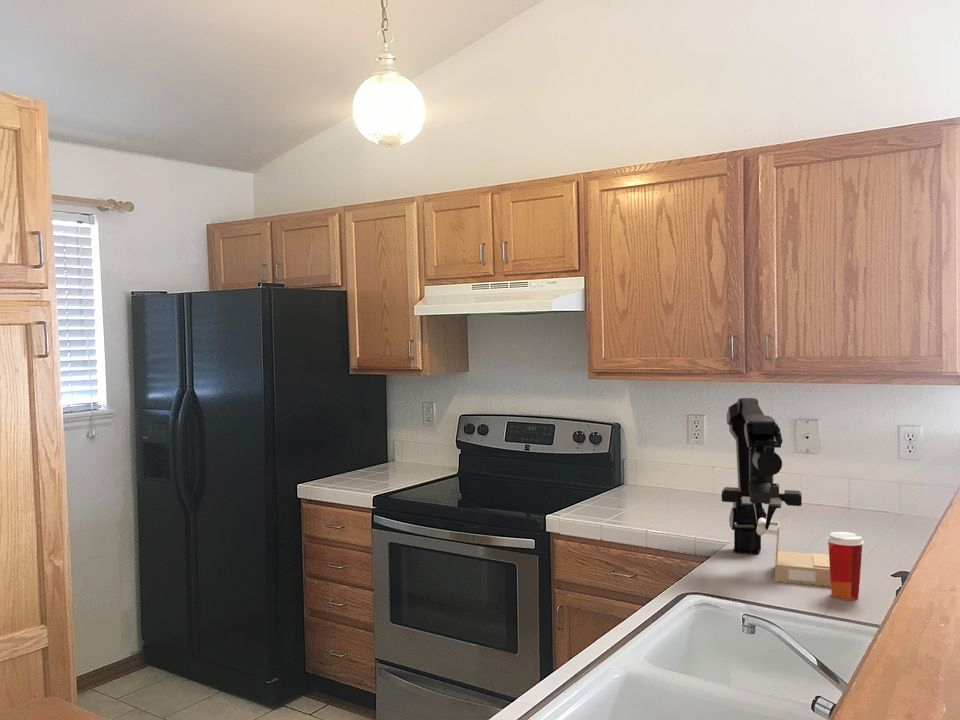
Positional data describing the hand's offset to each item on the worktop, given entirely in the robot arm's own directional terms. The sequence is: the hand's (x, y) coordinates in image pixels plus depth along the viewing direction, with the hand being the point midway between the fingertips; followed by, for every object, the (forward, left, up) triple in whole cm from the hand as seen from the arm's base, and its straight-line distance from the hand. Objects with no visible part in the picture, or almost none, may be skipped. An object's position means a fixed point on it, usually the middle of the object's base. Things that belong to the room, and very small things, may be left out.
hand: (761, 530), depth 204 cm
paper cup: (+18, -13, -11) cm, 25 cm away
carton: (+11, 0, -11) cm, 15 cm away
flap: (+4, 0, -2) cm, 5 cm away
